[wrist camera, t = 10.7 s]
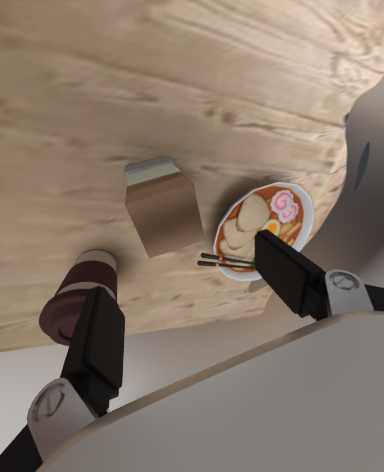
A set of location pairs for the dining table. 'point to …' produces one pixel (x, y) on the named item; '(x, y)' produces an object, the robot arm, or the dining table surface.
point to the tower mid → (151, 173)
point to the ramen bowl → (260, 227)
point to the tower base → (147, 165)
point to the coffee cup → (77, 294)
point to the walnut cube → (165, 213)
